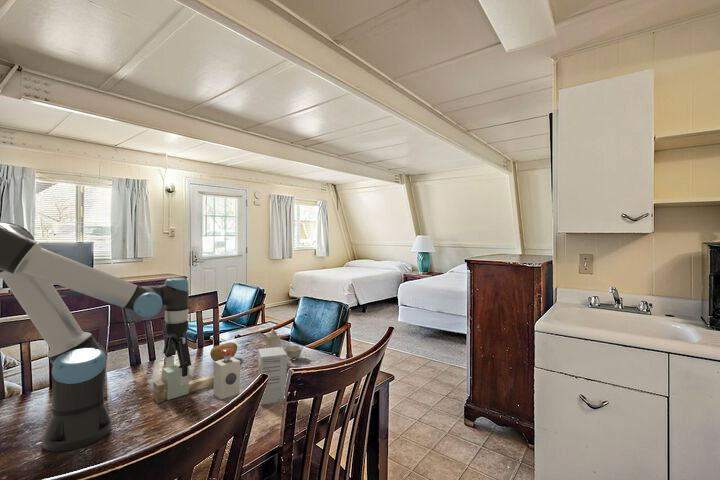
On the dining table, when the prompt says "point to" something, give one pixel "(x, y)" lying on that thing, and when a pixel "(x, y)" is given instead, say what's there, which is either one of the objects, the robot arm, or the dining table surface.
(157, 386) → the rail
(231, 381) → the white tall block
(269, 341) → the chinaware
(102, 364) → the robot arm
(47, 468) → the dining table surface
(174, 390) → the block
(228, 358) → the button
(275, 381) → the supplement box
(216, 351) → the potato
